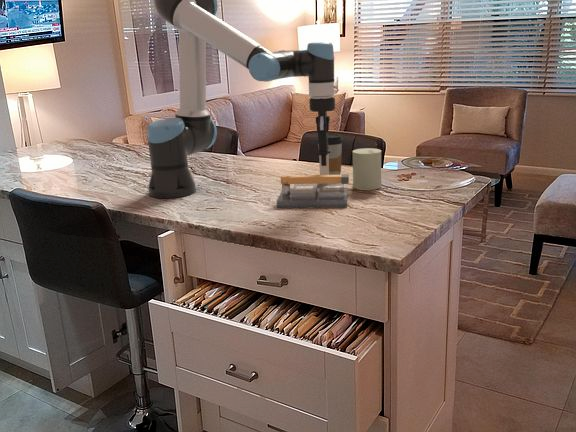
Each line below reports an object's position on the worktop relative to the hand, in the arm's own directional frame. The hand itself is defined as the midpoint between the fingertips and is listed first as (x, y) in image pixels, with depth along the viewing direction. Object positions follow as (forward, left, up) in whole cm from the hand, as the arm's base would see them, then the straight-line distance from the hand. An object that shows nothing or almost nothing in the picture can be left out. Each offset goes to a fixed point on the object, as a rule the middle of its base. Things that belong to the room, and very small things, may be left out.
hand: (324, 175), depth 180 cm
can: (+13, +9, -6) cm, 17 cm away
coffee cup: (+1, +18, -6) cm, 19 cm away
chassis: (-3, -7, -6) cm, 10 cm away
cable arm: (-3, -7, -1) cm, 7 cm away
